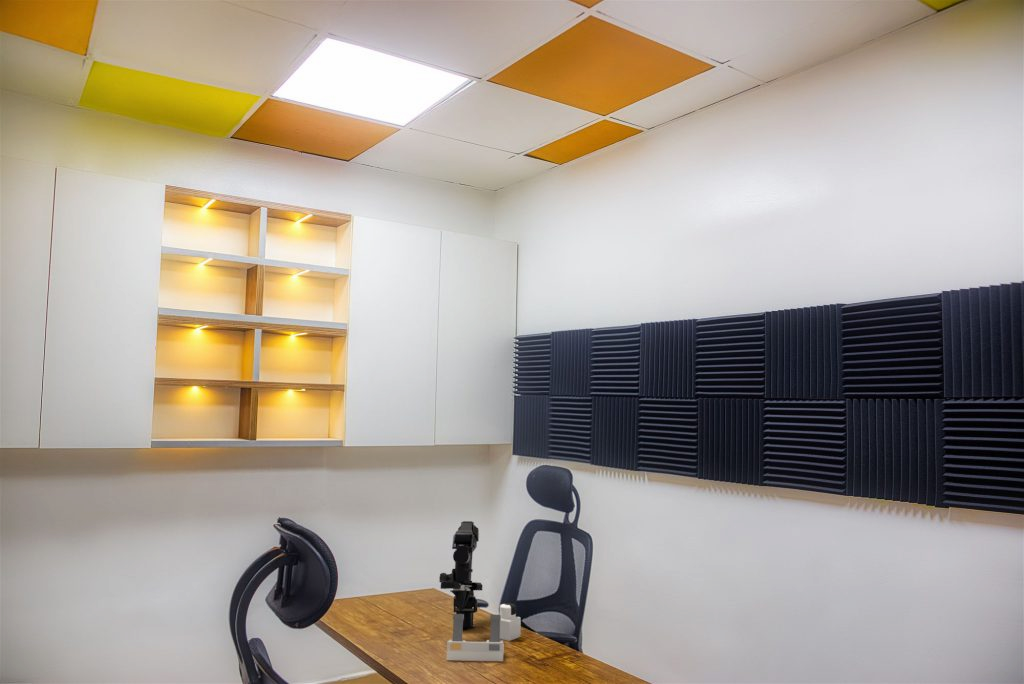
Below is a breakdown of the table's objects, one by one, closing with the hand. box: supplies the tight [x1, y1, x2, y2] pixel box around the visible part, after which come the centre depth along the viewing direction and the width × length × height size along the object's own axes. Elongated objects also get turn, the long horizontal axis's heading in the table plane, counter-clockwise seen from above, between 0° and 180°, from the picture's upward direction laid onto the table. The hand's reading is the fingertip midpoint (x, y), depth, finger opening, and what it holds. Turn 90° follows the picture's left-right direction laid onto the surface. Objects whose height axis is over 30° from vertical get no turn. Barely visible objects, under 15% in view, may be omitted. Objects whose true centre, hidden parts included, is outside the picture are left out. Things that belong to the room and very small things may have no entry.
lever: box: [489, 614, 501, 642], centre depth 260 cm, size 2×4×10 cm, turn 89°
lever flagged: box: [452, 613, 464, 642], centre depth 260 cm, size 2×4×10 cm, turn 89°
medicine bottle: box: [499, 602, 522, 642], centre depth 280 cm, size 7×7×12 cm
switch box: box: [446, 639, 505, 662], centre depth 257 cm, size 9×19×6 cm, turn 89°
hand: (461, 610), depth 273 cm, fingers closed
